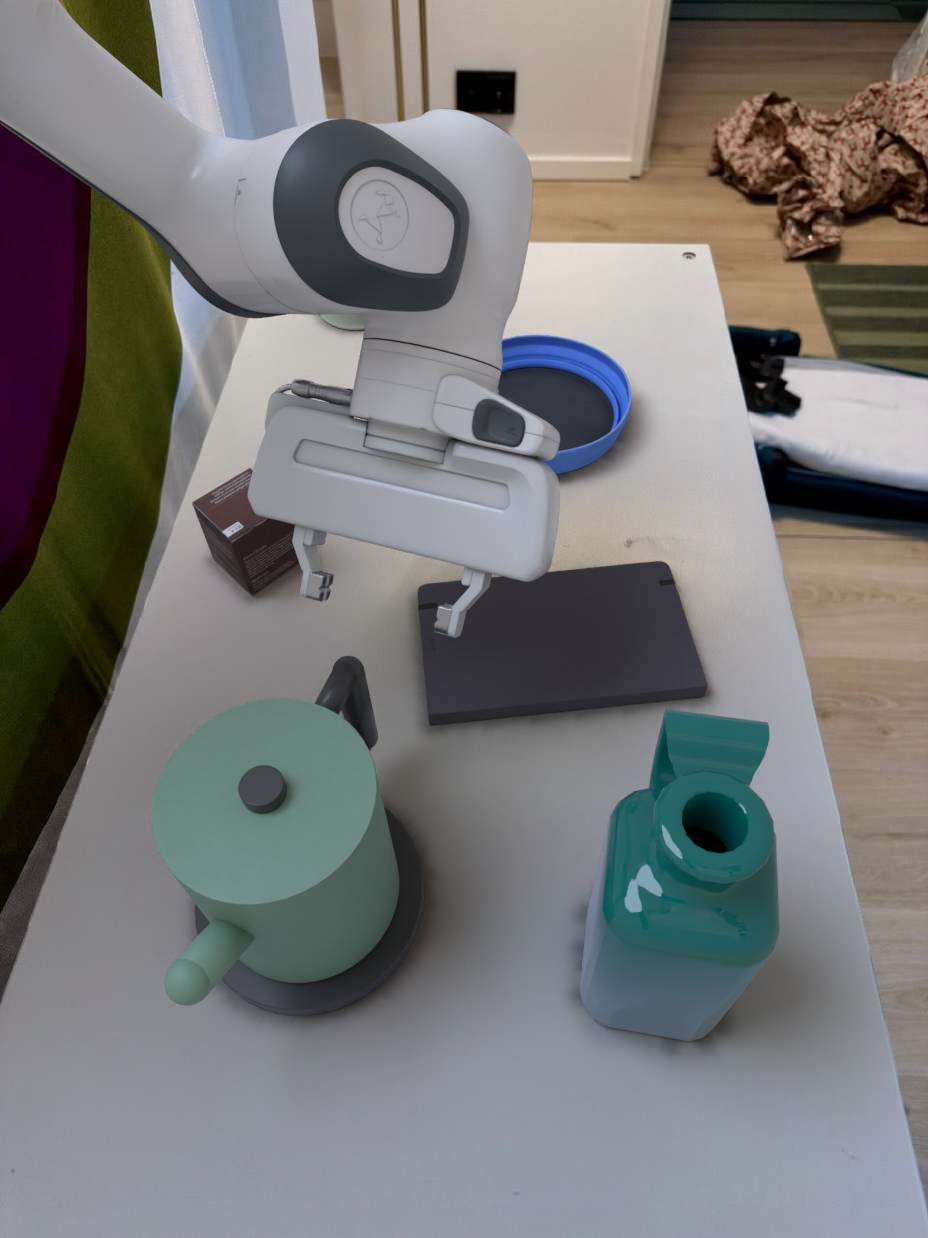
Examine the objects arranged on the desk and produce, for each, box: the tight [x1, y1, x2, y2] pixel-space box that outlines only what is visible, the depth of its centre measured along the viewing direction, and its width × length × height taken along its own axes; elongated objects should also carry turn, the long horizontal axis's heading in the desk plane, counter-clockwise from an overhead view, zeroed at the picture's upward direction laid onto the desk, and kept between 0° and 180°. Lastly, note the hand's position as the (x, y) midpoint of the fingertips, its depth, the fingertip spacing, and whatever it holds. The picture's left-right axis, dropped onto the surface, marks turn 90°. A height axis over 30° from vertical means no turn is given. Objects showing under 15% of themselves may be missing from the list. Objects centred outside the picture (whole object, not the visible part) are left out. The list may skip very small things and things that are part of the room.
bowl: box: [498, 334, 632, 475], centre depth 88 cm, size 18×18×4 cm
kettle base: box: [194, 806, 425, 1017], centre depth 60 cm, size 15×15×2 cm
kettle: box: [150, 655, 399, 1007], centre depth 53 cm, size 22×12×15 cm, turn 160°
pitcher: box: [579, 708, 781, 1042], centre depth 49 cm, size 10×8×22 cm
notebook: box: [417, 560, 708, 726], centre depth 72 cm, size 13×2×21 cm
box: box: [191, 467, 300, 596], centre depth 76 cm, size 6×6×7 cm
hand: (379, 616), depth 59 cm, fingers open, 8 cm apart
